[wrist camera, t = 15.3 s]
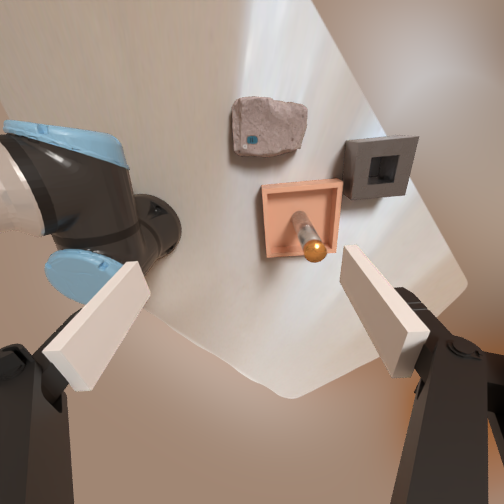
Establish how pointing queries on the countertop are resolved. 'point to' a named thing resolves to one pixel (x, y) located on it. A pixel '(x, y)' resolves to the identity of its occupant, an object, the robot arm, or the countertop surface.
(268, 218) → the tray
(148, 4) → the countertop surface
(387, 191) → the block
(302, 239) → the pin
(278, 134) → the decorative stone
